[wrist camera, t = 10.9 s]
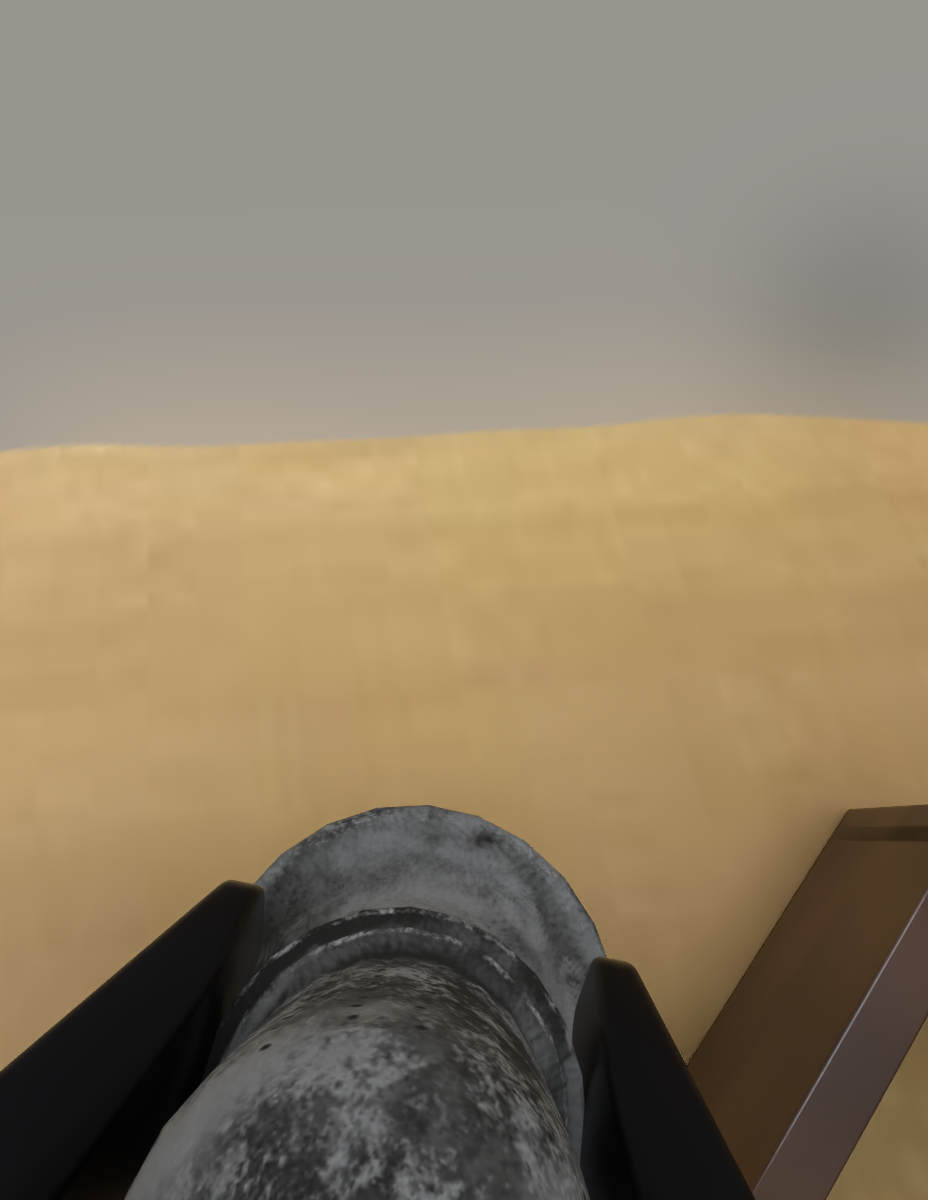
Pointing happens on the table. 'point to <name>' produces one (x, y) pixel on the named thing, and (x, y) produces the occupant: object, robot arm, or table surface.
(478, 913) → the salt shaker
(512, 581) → the table surface
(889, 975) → the spice rack
